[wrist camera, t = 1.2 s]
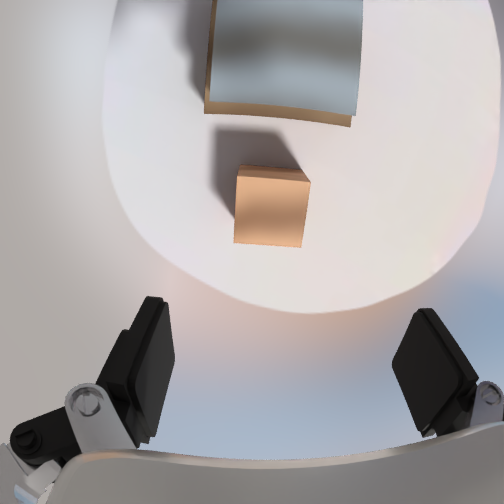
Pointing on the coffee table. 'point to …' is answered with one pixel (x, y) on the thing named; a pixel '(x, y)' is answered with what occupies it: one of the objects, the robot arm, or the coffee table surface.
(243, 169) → the terracotta block
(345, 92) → the brick tower
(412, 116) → the coffee table surface
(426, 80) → the coffee table surface
